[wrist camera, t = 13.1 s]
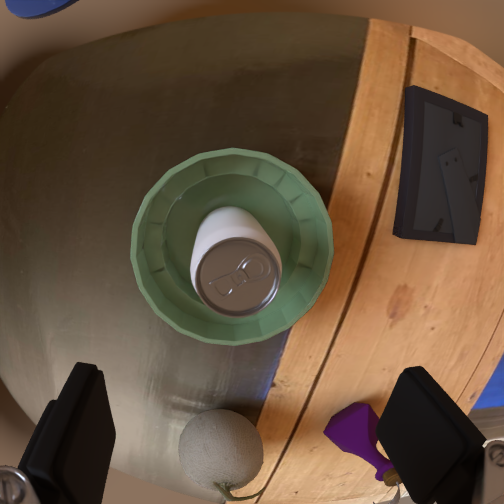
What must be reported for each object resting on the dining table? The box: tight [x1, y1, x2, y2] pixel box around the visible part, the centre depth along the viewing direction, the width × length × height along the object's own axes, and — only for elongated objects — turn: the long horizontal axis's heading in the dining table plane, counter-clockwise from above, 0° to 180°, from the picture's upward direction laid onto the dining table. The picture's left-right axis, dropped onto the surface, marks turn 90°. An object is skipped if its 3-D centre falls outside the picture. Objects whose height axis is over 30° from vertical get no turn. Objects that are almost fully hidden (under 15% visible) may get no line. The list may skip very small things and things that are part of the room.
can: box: [190, 206, 282, 318], centre depth 26 cm, size 6×6×12 cm
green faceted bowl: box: [131, 148, 334, 346], centre depth 29 cm, size 17×17×7 cm
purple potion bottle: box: [323, 403, 402, 504], centre depth 34 cm, size 8×8×18 cm
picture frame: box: [393, 85, 488, 245], centre depth 32 cm, size 13×2×18 cm
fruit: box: [179, 409, 265, 501], centre depth 32 cm, size 10×12×15 cm
